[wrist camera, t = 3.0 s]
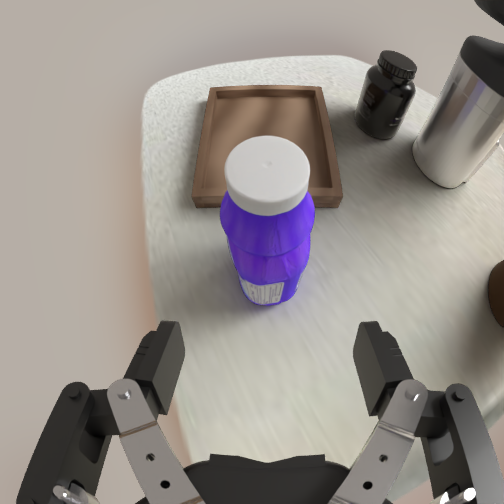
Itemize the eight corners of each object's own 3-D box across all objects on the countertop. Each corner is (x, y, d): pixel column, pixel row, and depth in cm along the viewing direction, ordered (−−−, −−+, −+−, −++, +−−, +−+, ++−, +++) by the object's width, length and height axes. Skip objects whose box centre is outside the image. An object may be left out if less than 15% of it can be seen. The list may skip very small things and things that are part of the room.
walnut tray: (319, 99, 38) (321, 86, 35) (338, 207, 31) (343, 196, 29) (212, 99, 39) (210, 87, 36) (196, 207, 32) (191, 196, 30)
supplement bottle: (396, 147, 34) (427, 83, 23) (351, 131, 35) (371, 62, 24) (397, 117, 36) (421, 58, 25) (356, 103, 37) (372, 40, 26)
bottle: (235, 243, 30) (201, 123, 14) (288, 235, 30) (306, 110, 14) (244, 312, 28) (212, 249, 12) (301, 302, 28) (348, 228, 12)
